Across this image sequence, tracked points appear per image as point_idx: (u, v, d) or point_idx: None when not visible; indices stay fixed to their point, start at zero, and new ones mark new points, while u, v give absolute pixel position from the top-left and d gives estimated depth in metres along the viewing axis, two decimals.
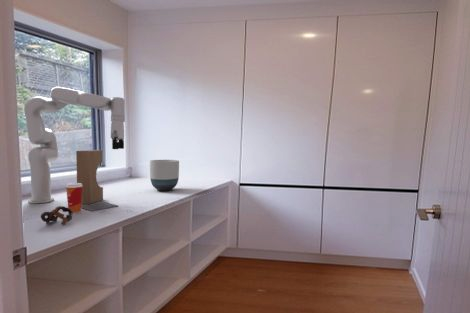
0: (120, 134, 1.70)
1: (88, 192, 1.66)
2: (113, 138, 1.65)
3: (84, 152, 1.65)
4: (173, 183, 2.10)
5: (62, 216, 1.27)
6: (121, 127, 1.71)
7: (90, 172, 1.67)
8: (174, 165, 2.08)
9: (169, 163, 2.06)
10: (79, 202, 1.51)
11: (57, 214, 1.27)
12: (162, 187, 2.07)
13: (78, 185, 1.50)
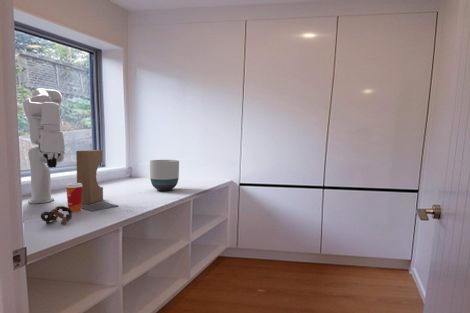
0: None
1: (88, 192, 1.66)
2: (59, 155, 1.45)
3: (84, 152, 1.65)
4: (173, 183, 2.10)
5: (62, 216, 1.28)
6: None
7: (90, 172, 1.67)
8: (174, 165, 2.08)
9: (169, 163, 2.06)
10: (79, 202, 1.51)
11: (57, 214, 1.27)
12: (162, 187, 2.07)
13: (78, 185, 1.50)
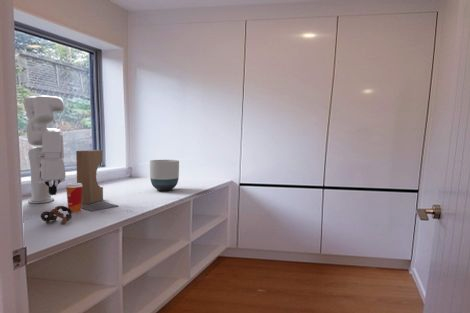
0: None
1: (88, 192, 1.66)
2: None
3: (84, 152, 1.65)
4: (173, 183, 2.10)
5: (62, 215, 1.28)
6: None
7: (90, 172, 1.67)
8: (174, 165, 2.08)
9: (169, 163, 2.06)
10: (79, 202, 1.51)
11: (57, 213, 1.28)
12: (162, 187, 2.07)
13: (78, 185, 1.50)
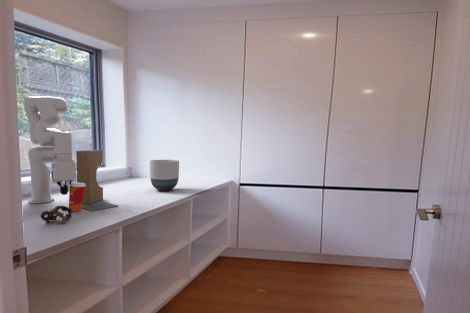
0: None
1: (88, 192, 1.66)
2: (70, 182, 1.49)
3: (84, 152, 1.65)
4: (173, 183, 2.10)
5: (62, 215, 1.29)
6: None
7: (90, 172, 1.67)
8: (174, 165, 2.08)
9: (169, 163, 2.06)
10: (80, 202, 1.51)
11: (57, 213, 1.28)
12: (162, 187, 2.07)
13: (82, 185, 1.51)
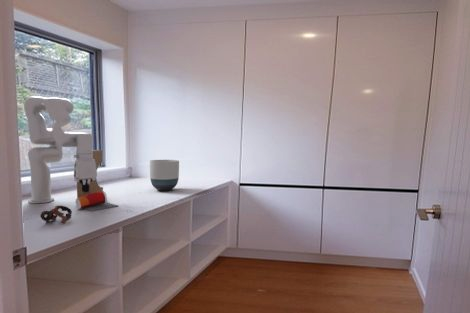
0: None
1: (88, 192, 1.66)
2: (91, 180, 1.58)
3: None
4: (173, 183, 2.10)
5: (62, 215, 1.29)
6: None
7: None
8: (174, 165, 2.08)
9: (169, 163, 2.06)
10: (89, 200, 1.57)
11: (57, 213, 1.28)
12: (162, 187, 2.07)
13: (105, 195, 1.63)
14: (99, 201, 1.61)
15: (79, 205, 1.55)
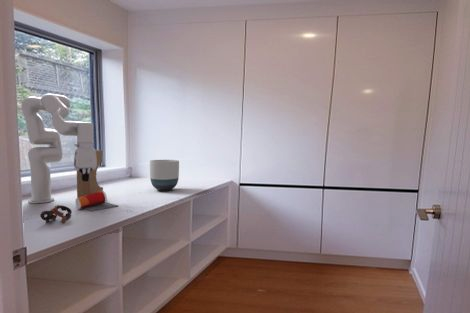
0: None
1: (88, 192, 1.66)
2: None
3: None
4: (173, 183, 2.10)
5: (61, 215, 1.29)
6: None
7: (90, 172, 1.67)
8: (174, 165, 2.08)
9: (169, 163, 2.06)
10: (89, 200, 1.57)
11: (57, 213, 1.29)
12: (162, 187, 2.07)
13: (105, 194, 1.64)
14: (99, 201, 1.61)
15: (79, 205, 1.55)
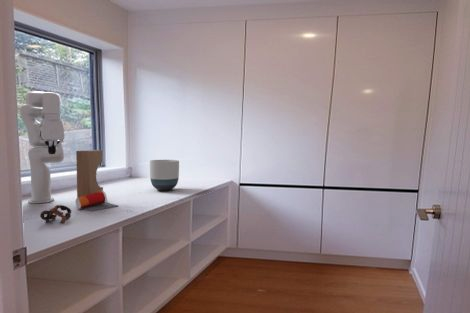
0: None
1: (88, 192, 1.66)
2: None
3: (84, 152, 1.65)
4: (173, 183, 2.10)
5: (61, 214, 1.30)
6: None
7: (90, 172, 1.67)
8: (174, 165, 2.08)
9: (169, 163, 2.06)
10: (89, 200, 1.57)
11: (56, 212, 1.29)
12: (162, 187, 2.07)
13: (105, 194, 1.64)
14: (99, 201, 1.61)
15: (79, 205, 1.55)
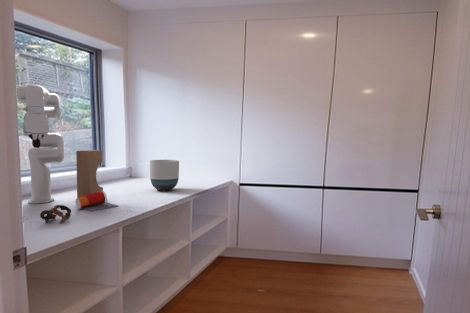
0: None
1: (88, 192, 1.66)
2: (43, 136, 1.51)
3: (84, 152, 1.65)
4: (173, 183, 2.10)
5: (61, 214, 1.30)
6: None
7: (90, 172, 1.67)
8: (174, 165, 2.08)
9: (169, 163, 2.06)
10: (89, 200, 1.57)
11: (56, 212, 1.30)
12: (162, 187, 2.07)
13: (105, 194, 1.64)
14: (99, 201, 1.61)
15: (79, 205, 1.55)
